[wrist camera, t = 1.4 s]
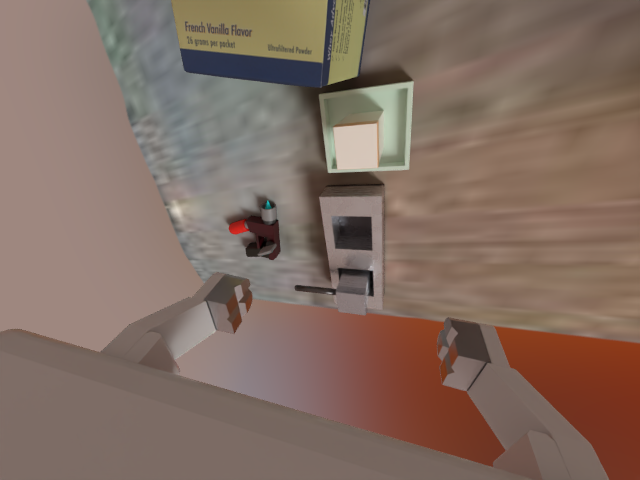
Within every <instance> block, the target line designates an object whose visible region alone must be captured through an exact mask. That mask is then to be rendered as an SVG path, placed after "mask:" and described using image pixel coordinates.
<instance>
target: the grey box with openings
mask: <svg viewBox="0 0 640 480" xmlns="http://www.w3.org/2000/svg"><path fill="white" fill-rule="evenodd" d="M319 199H320V206H321V213H322V220H323V226H324V233H325V240H326V247H327V254H328V260H329V267H330V274H331V281H332V288H333V289H331V288H321V287H311V286H302V285H296V286H295V290H296V291H303V292H312V293H321V294H330V295H334V301H335V304H337V305H338V311H339V312H344V313H352V314H359V315H366V312H367V308H370V309H379V310H382V309H383V300H384V184H366V185H327V186H326V188H325V189H324V191H323V192H322V194H321V195H320V197H319Z"/></svg>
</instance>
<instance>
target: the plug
mask: <svg viewBox="0 0 640 480" xmlns="http://www.w3.org/2000/svg"><path fill="white" fill-rule="evenodd" d="M333 133H334V143H335V153H336V163H337V170H343V169H365V168H378V167H379V161H380V158H381V155H382V151H383V148H384V110H382V111H373V112H364V113H354V114H349V115H348V116H346V117H345V118H344V119H343V120H342V121H340V122H339V123H338V124H336V125H335V126H333Z"/></svg>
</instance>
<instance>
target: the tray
mask: <svg viewBox="0 0 640 480" xmlns="http://www.w3.org/2000/svg"><path fill="white" fill-rule="evenodd" d="M319 101H320V110H321V118H322V126H323V135H324V143H325V151H326V160H327V168H328V173H339V172H364V171H389V170H409V159H410V139H411V120H412V101H413V80H412V81H405V82H398V83H391V84H384V85H377V86H369V87H362V88H355V89H348V90H341V91H334V92H327V93H322V94H319ZM382 110H384V148H383V151H382V155H381V158H380V161H379V167H378V168H365V169H343V170H337V163H336V153H335V143H334V133H333V126H335V125H336V124H338V123H339V122H340V121H342V120H343V119H344V118H345V117H346V116H348V115H349V114H354V113H364V112H373V111H382Z"/></svg>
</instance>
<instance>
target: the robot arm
mask: <svg viewBox="0 0 640 480" xmlns="http://www.w3.org/2000/svg"><path fill="white" fill-rule="evenodd" d="M249 287H250V281H249V279H246V278H242V277H238V276H233V275H229V274H223V273H219V272H216V273H214V274H213V275H212V276H211V277H210V278H209V279H208V280H207V281H206V282H205V284H204V285H203V286H202V287H201V288H200V289H199V290H198V291H197V292H196V294H195V295H194V296H193V297H192V298H191V297H188V298H186V299H183V300H181V301H179V302H177V303H175V304H173V305H171V306H169V307H166V308H164V309H162V310H160V311H157V312H155V313H153V314H151V315H149V316H147V317H144V318H143V319H140V320H138V321H136V322H134V323H132V324H129V325H128V326H127V327H126V328H125V329H124V330H123V331H122V332H121V333H120V334H119V335H118V336H117V337H116V338H115V339H114V340H112V342H111V343H109V344H108V345H107V346H106V347H105V348H104V349H103V350H102V351H101V352H97V351H94V350H90V349H87V348H83V347H80V346H76V345H73V344H70V343H66V342H63V341H59V340H56V339H53V338H49V337H46V336H42V335H39V334H36V333H32V332H29V331H26V330H22V329H10V330H5V331H2V332H0V480H609V478H608V476H607V474H606V473H605V471H604V469H603V467H602V465H601V463H600V461H599V459H598V457H597V455H596V453H595V451H594V449H593V447H592V445H591V444H590V443H589V442H588V441H587V440H586V439H585V438H584V437H583V436H582V435H581V434H580V433H579V432H578V431H577V430H576V429H575V428H574V427H573V426H572V425H571V424H570V423H569V422H568V421H567V420H566V419H565V418H564V417H563V416H562V415H561V414H560V413H559V412H558V411H557V410H556V409H555V408H554V407H553V406H552V405H551V404H550V403H549V402H548V401H547V400H546V399H545V398H544V397H543V396H542V395H541V394H540V393H538V391H537V390H536V389H534V387H532V386H531V384H530V383H529V382H527V381H526V380H525V379H524V378H523V377H522V376H521V375H520V374H519V373H518V372H517V371H516V370H515V369H512V368H510V366H509V364H508V361H507V359H506V356H505V353H504V351H503V348H502V345H501V343H500V340H499V338H498V335H497V332H496V330H495V328H494V327H493V326H491V325H486V324H480V323H475V322H470V321H465V320H459V319H454V318H447V319H446V320H445V322H444V328H445V329H444V330H442V331H440V334H439V336H438V342H437V352H438V357H439V358H440V359H441V360H442V363H441V365H440V374H441V380H442V384H443V385H445V386H449V387H453V388H457V389H460V390H464V391H468V392H467V393H468V395H469V396H470V398H471V399H472V401H473V402H474V404H475V405H476V407H477V408H478V410H479V411H480V412H481V414H482V415H483V417H484V418H485V420H486V421H487V423H488V424H489V426H490V427H491V429H492V430H493V432H494V433H495V435H496V436H497V438H498V439H499V441H500V442H501V444H502V445H503V447H504V448H505V450H506V451H505V452H504V453H503V454H502V455H501V456H500V457H499V458H497V459H496V460H495V461H494V462H493V466H494V467H490V466H487V465H483V464H480V463H476V462H473V461H470V460H466V459H463V458H459V457H456V456H452V455H449V454H446V453H442V452H438V451H435V450H432V449H429V448H425V447H422V446H418V445H415V444H411V443H408V442H405V441H401V440H397V439H394V438H391V437H388V436H384V435H381V434H377V433H374V432H370V431H367V430H363V429H360V428H357V427H353V426H350V425H347V424H343V423H340V422H336V421H333V420H329V419H326V418H322V417H319V416H316V415H312V414H309V413H305V412H302V411H299V410H295V409H292V408H289V407H285V406H282V405H278V404H275V403H271V402H268V401H264V400H261V399H258V398H254V397H251V396H247V395H244V394H241V393H237V392H234V391H230V390H227V389H224V388H220V387H217V386H213V385H210V384H206V383H203V382H199V381H196V380H193V379H189V378H186V377H182V376H179V375H178V374H179V373H180V369H179V367H178V365H177V363H176V362H175V360H176V359H177V358H179V357H180V356H182V355H183V354H185V353H186V352H187V351H189V350H190V349H192V348H193V347H194V346H196V345H197V344H199V343H200V342H202V341H203V340H204V339H206V338H207V337H209V336H210V335H212V334H213V333H214V332H216V330H218V331H224V332H228V333H232V334H234V333H235V332H236V330H237V328H238V327H239V325H240V324H241V322H242V318H241V316H243V315H245V314H246V313H248V311H249V309H250V307H251V304H252V298H253V296H252V292H251V291H250V290H249V289H248V288H249Z"/></svg>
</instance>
